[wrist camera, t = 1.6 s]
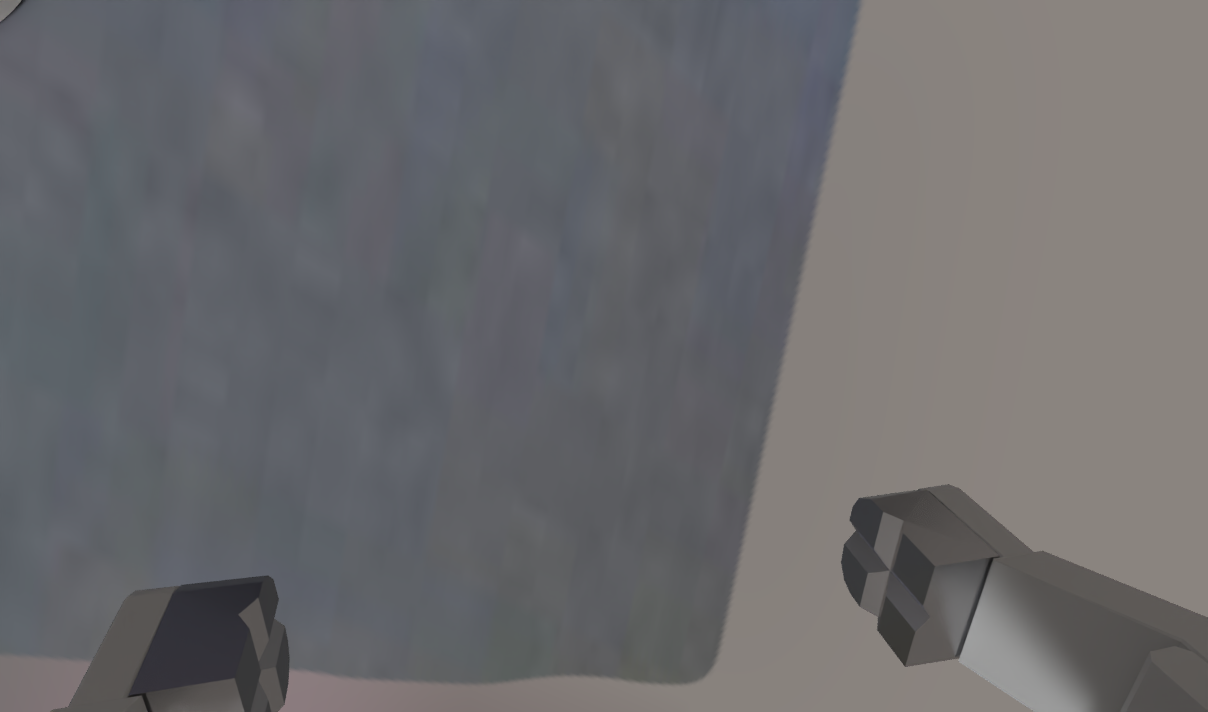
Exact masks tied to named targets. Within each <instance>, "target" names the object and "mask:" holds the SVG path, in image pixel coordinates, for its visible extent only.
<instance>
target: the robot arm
mask: <svg viewBox="0 0 1208 712" xmlns="http://www.w3.org/2000/svg"><path fill="white" fill-rule="evenodd" d="M20 2H21V0H0V22H1V21H2V20H3V19H5V18H6V17H7V16H8V15H9V14H10V13H11V12H12V11H13V10H14V9H15V8H16V6H17V5H18V4H19V3H20ZM850 521H851V523H852V525H853V526H854V528H855V529H856V531H855V532H854V534H853V535H852V536H851V537H850V538H849V539H848V540H847V541H846V543H845V544H844V548H843V554H842V561H841V564H842V570H843V575H844V581H845V583H846V585H847V587H848V589H849V592H850V593H851V595H852V597H853V598H854V599H855V601H856V602H857V604H858V605H859V606H860V607H861V608H863V609H865V610H866V611H869V612H870V613H872V614H874V615H876V616H877V617H878V627H877V630H878V632H879V633H880V634H881V636H882V637H883V638H884V640H885V641H886V642H887V644H888V645H889V646H890V648H891V649H892V650H893V652H895V654H896V655H897V657H898V658H899V659H900V661H901V662H902V663H903V665H904V666H905V667H908V666H914V665H920V664H926V663H932V662H938V661H945V660H950V659H957V658H959V662H960V663H962V664H963V665H965V666H966V667H968V668H969V669H971V670H972V671H974V672H975V673H977V674H978V675H980V676H981V677H983V678H984V679H986V680H987V681H989V682H990V683H992V684H993V685H995V686H996V687H998V688H999V689H1001V690H1002V691H1004V692H1006V693H1007V694H1008V695H1010V696H1011V697H1013V698H1014V699H1016V700H1017V701H1019V702H1020V703H1022V704H1023V705H1025V706H1027V707H1028V708H1029V709H1031V710H1032V711H1034V712H1208V617H1205V616H1203V615H1200V614H1198V613H1195V612H1193V611H1190V610H1188V609H1185V608H1183V607H1180V606H1178V605H1175V604H1173V603H1170V602H1168V601H1165V600H1163V599H1161V598H1158V597H1156V596H1153V595H1151V594H1148V593H1146V592H1143V591H1140V590H1138V589H1136V588H1133V587H1131V586H1128V585H1126V584H1123V583H1121V582H1118V581H1115V580H1114V579H1111V578H1109V577H1106V576H1104V575H1101V574H1099V573H1096V572H1094V571H1091V570H1089V569H1086V568H1084V567H1081V566H1079V565H1076V564H1074V563H1072V562H1069V561H1066V560H1064V559H1061V558H1059V557H1057V556H1054V555H1052V554H1049V553H1047V552H1044V551H1039V552H1033V551H1032V550H1031V549H1030V548H1028V547H1027V546H1026V545H1025V544H1024V543H1022V542H1021V541H1020V540H1019V539H1018V538H1017V537H1015V536H1014V535H1013V534H1012V533H1011V532H1010V531H1009V530H1007V529H1006V528H1005V527H1004V526H1003V525H1002V524H1000V523H999V522H998V521H997V520H996V519H995V518H993V517H992V516H991V515H990V514H989V513H987V512H986V511H985V510H984V509H983V508H982V507H980V506H979V505H978V504H977V503H976V502H975V501H973V500H972V499H971V498H970V497H969V496H968V495H967V494H965V493H964V492H963V491H962V490H961V489H959V488H957V487H954V486H951V485H949V484H948V485H941V486H935V487H928V488H922V489H918V490H913V491H906V492H899V493H891V494H884V495H877V496H871V497H863V498H859V499H858V500H857V502H856V503H855V505H854V506H853V508H852V512H851V516H850ZM278 600H279V598H278V595H277V591H276V587H275V584H274V580H273V579H272V578H271V577H270V576H258V577H249V578H240V579H231V580H222V581H213V582H204V583H195V584H185V585H181V586H174V587H165V588H156V589H147V590H138V591H135V592H133V593H132V594H131V595H129V596H128V597H127V598H126V599H125V600H124V601H123V603H122V605H121V607H120V609H119V611H118V613H117V615H116V617H115V619H114V620H113V622H112V624H111V626H110V628H109V630H108V632H107V634H106V636H105V638H104V639H103V641H102V643H101V645H100V647H99V649H98V651H97V653H96V655H95V657H94V658H93V660H92V662H91V664H90V666H89V668H88V670H87V672H86V674H85V676H84V677H83V679H82V681H81V683H80V685H79V687H78V689H77V691H76V693H75V695H74V697H73V698H72V700H71V702H70V704H69V706H68V707H66V708H61V709H54V710H52V711H50V712H278V711H279V710H280V709H281V708H282V707H283V705H284V703H285V698H286V693H287V688H288V679H289V660H290V659H289V647H288V639H287V634H286V629H285V626H284V625H283V624H281V623H280V622H278V621H277V620H275V619H274V617H275V613H276V609H277V605H278Z"/></svg>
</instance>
